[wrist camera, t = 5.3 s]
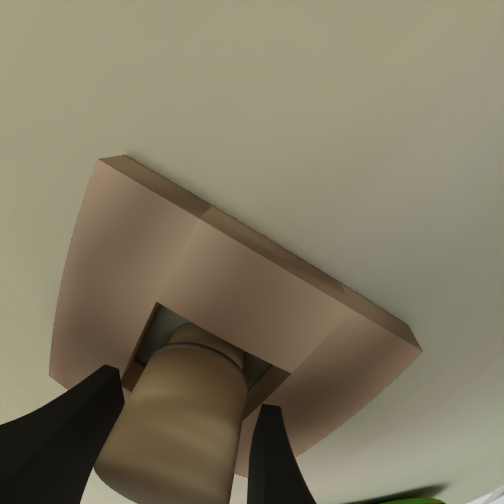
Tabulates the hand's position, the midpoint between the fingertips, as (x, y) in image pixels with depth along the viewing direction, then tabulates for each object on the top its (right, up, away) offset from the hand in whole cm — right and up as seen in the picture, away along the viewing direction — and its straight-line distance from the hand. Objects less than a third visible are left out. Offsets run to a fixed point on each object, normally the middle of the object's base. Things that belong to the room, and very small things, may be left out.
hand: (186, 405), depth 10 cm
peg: (0, +1, +3) cm, 3 cm away
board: (0, +1, +3) cm, 3 cm away
